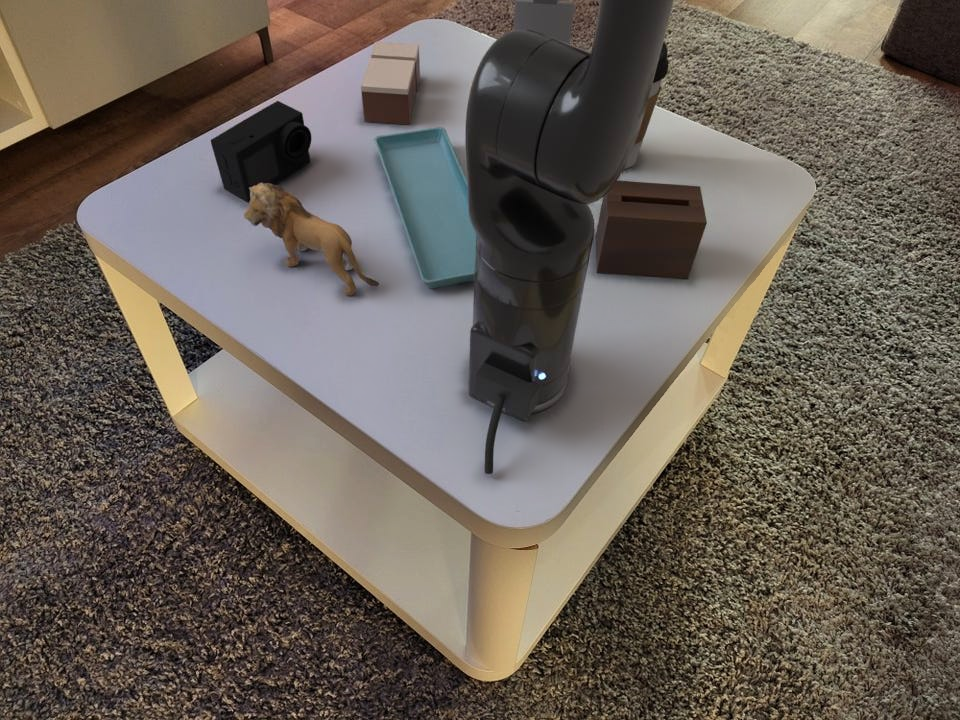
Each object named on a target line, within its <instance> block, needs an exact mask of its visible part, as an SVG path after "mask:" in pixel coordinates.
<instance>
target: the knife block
mask: <svg viewBox="0 0 960 720" xmlns="http://www.w3.org/2000/svg"><path fill="white" fill-rule="evenodd" d="M707 224H708V222H707V215H706V210H705V205H704V199H703V193H702V189H701V186H700V185H688V184H674V183H659V182H646V181H631V180H619V179H618V180H617V181H616V183H615V184H614V185H613V187H612V188H611V189H610V191H609V192H608V193H607V194H606V195H605V196H603V197H602V200H601V206H600V210H599V216H598V220H597V226H596V232H595V235H594V237H595V262H596V263H595V267H596V273H598V274H609V275H612V274H613V275H622V276H623V275H624V276H638V277H639V276H640V277H649V278H650V277H651V278H652V277H653V278H664V279H665V278H667V279H679V280H689V277H690V274H691V271H692V268H693V267H694V264H695V260H696V257H697V253H698V250H699V248H700V245H701V242H702V239H703V236H704V233H705V230H706V226H707Z"/></svg>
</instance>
